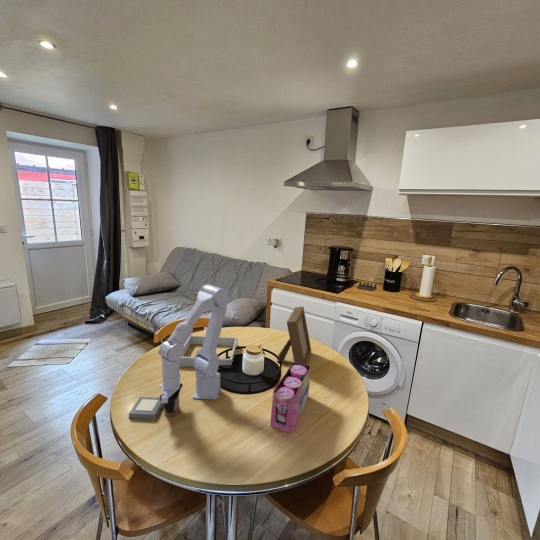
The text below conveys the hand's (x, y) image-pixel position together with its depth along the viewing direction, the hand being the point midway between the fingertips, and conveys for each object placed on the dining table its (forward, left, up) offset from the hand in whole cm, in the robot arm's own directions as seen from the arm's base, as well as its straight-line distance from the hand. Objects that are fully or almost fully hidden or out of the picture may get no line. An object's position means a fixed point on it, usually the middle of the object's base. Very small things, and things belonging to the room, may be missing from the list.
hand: (171, 407), depth 106 cm
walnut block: (0, 0, -1) cm, 1 cm away
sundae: (-30, -28, -2) cm, 40 cm away
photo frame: (-48, -42, -2) cm, 63 cm away
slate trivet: (+9, 0, -1) cm, 9 cm away
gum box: (-44, -4, -2) cm, 44 cm away
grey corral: (-5, -43, -1) cm, 43 cm away
